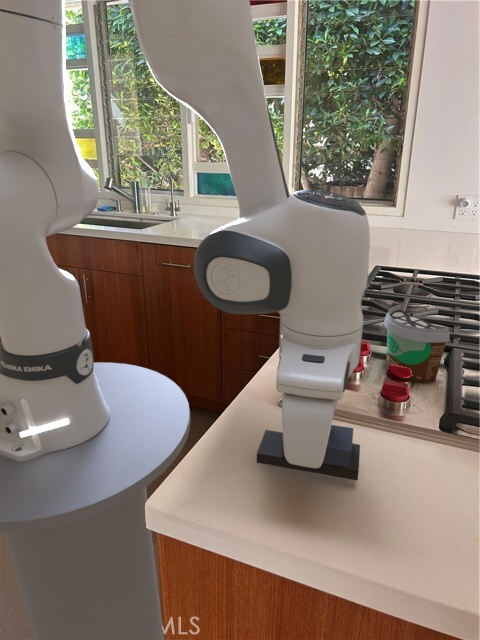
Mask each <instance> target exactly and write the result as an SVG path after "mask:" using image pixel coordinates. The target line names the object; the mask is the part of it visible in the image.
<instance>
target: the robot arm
mask: <svg viewBox="0 0 480 640" xmlns="http://www.w3.org/2000/svg"><path fill="white" fill-rule="evenodd" d="M127 1H128V5H129V10H130V13H131V18H132V22H133V26H134V31H135V34H136V38H137V41H138V44H139V47H140V50H141V52H142V54H143V57H144V59H145V61H146V64H147V66H148V68H149V70H150V73H151V74H152V76H153V78H154V80H155V81H156V83H158V85H159V86H160V87H161V88H162V89H163V90H164V91H166V92H167V93H168V94H169V95H170V96H171V97H173V98H174V99H175V100H177V101H179V102H180V103H182V104H183V105H184V106H186V107H188V108H189V109H190V110H192V111H193V112H194V113H195V114H196V115H198V116H199V118H201V119H202V120H203V121H204V122H205V123H206V124H207V125H208V126H209V127H210V129H211V130H212V131H213V133H214V134H215V135H216V137H217V139H218V142H219V143H220V146H221V147H222V150H223V153H224V157H225V160H226V164H227V168H228V172H229V176H230V178H231V183H232V185H233V189H234V193H235V197H236V200H237V203H238V204H237V205H238V218H237V220H234V221H231V222H229V223H227V224H225V225H223V226H220V227H218V228H217V229H215V230H213V231H212V232H211V233H209V234H208V235H207V236H205V237H204V238H203V239H202V241H200V243H199V245H198V246H197V248H196V250H195V253H194V258H193V273H194V278H195V282H196V284H197V287H198V289H199V291H200V292H201V294H202V296H203V297H204V298H205V299H206V300H207V301H208V302H209V303H210V304H211V305H212V306H214V307H215V308H216V309H218V310H220V311H222V312H225V313H228V314H233V315H263V314H273V313H278V314H279V341H278V342H279V343H278V344H279V345H278V359H279V360H278V366H277V370H276V371H277V372H276V382H275V383H276V384H275V386H276V387H275V388H276V391H277V392H279V393H282V395H281V396H282V397H281V422H282V423H281V425H282V432H283V444H284V454H285V457H286V460H287V461H288V462H289V463H290V464H293V465H298V466H303V467H310V468H319V467H321V465H322V463H323V460H324V457H325V453H326V448H327V444H328V439H329V434H330V430H331V425H333V420H334V416H335V412H336V407H337V404H338V401H340V400H342V399H343V398H344V393H345V391H346V387H347V384H348V381H349V378H350V377H351V376H352V375H353V373H354V370H355V369H356V368H358V366H359V363H360V361H361V349H362V341H363V331H364V330H363V329H364V314H363V310H362V301H363V296H364V294H365V291H366V289H367V287H368V280H369V269H370V254H371V235H370V234H371V231H370V223H369V218H368V215H367V212H366V210H365V209H364V208H363V207H362V205H361V204H360V202H358V201H357V200H355V199H353V198H350V197H349V196H346V195H343V194H340V193H336V192H333V191H327V190H321V189H319V190H315V189H301V190H297V191H294V192H292V193H291V194H290V192H289V188H288V184H287V180H286V176H285V171H284V167H283V163H282V158H281V154H280V150H279V144H278V141H277V136H276V132H275V127H274V124H273V120H272V115H271V112H270V108H269V104H268V101H267V97H266V91H265V85H264V80H263V75H262V70H261V65H260V59H259V53H258V46H257V39H256V32H255V27H254V21H253V14H252V8H251V2H250V0H127ZM65 4H66V2H65V0H0V454H1V455H3V456H5V457H8V458H10V459H13V460H15V461H18V462H26V461H29V460H32V459H34V458H36V457H39V456H41V455H43V454H46V453H49V452H54V451H59V450H63V449H67V448H70V447H73V446H76V445H78V444H81V443H83V442H85V441H87V440H89V439H91V438H92V437H94V436H95V435H96V434H98V433H99V432H100V431H101V430H102V429H103V428H104V427H105V426H106V425H107V423H108V421H109V419H110V409H109V407H108V405H107V404H106V402H105V400H104V397H103V395H102V393H101V390H100V387H99V384H98V381H97V378H96V375H95V372H94V363H95V362H94V349H93V344H92V338H91V333H90V330H88V328H87V325H86V319H85V314H84V307H83V301H82V295H81V288H80V284H79V282H78V280H77V278H76V277H74V275H73V274H71V273H69V272H68V271H66V270H64V269H61V268H59V267H58V266H57V264H56V263H55V261H54V258H53V257H52V255H51V253H50V250H49V248H48V245H47V237H49V236H50V237H51V236H53V235H57V234H59V233H62V232H65V231H68V230H70V229H73V228H75V227H76V226H77V225H78V224H80V223H81V222H83V221H84V220H85V219H86V218H88V217H89V216H90V215H91V214H92V213H93V212H94V210H95V209H96V207H97V204H98V202H99V195H100V193H99V192H100V191H99V184H98V180H97V177H96V175H95V173H94V171H93V169H92V168H91V167H90V165H89V164H88V163H87V161H85V159H84V158H83V157H82V155H81V153H80V150H79V147H78V144H77V141H76V138H75V135H74V131H73V127H72V121H71V118H70V113H69V107H68V97H67V68H66V67H67V66H66V63H67V61H66V60H67V59H66V7H65V6H66V5H65Z"/></svg>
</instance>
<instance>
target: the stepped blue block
mask: <svg viewBox="0 0 480 640" xmlns="http://www.w3.org/2000/svg"><path fill="white" fill-rule="evenodd" d="M353 436H354V427H348V426H341V425H335V424H332V425H331V430H330V434H329V439H328V444H327V448H326V453H325V457H324V460H323V463H322V465H321V467H319V468H310V467H303V466H298V465H293V464H290V463H289V462H288V461H287V460H286V457H285V454H284V444H283V431H276V430H270V429H265V430H264V432H263V436H262V438H261V441H260V444H259V446H258V449H257V452H256V464H261V465H262V464H263V465H267V466H273V467H278V468H279V467H280V468H284V469H285V468H286V469H289V470H290V469H291V470H297V471H301V472H307V473H314V474H318V475H325V476H330V477H336V478H341V479H346V480H352V481H358V480H359V469H360V455H361V453H360V452H361V444H359V443H353V438H354V437H353Z"/></svg>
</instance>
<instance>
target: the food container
mask: <svg viewBox="0 0 480 640" xmlns="http://www.w3.org/2000/svg"><path fill="white" fill-rule="evenodd" d="M383 327H384V328H385V329H386V331H387V332H386V334H387V335H386V369H387V371H388V370H389V365H391V364H395V365H399V366H403V367H407V368H410V369H411V371H412V375H413V377H412V376H411V377H410V378H404V379H403V378H402V379H401V378H399V379H400V380H403V381H407V382H412V383H417V384H419V383H421V384H428V383H434V382H436V380H437V377H438V373H439V369H440V365H441V361H442V357H443V354H444V351H445V348H446V343H447V342H448V343H449V342H450V341H451V338H450V337H451V336H450V335H451V332H449V331H450V328H449V327H445V328H438V327H436V326H434V325H432V324H431V323H430V322H429V321H427V320H426V319H424V318H423V317H419V316H416V315H412V314H410V313H408V312H406V311H404V310H402V304H398V305H397V304H396V305H395V306H392V307H391V308H389V310H388V312H387V313H386V315H385V318H384V321H383Z"/></svg>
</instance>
